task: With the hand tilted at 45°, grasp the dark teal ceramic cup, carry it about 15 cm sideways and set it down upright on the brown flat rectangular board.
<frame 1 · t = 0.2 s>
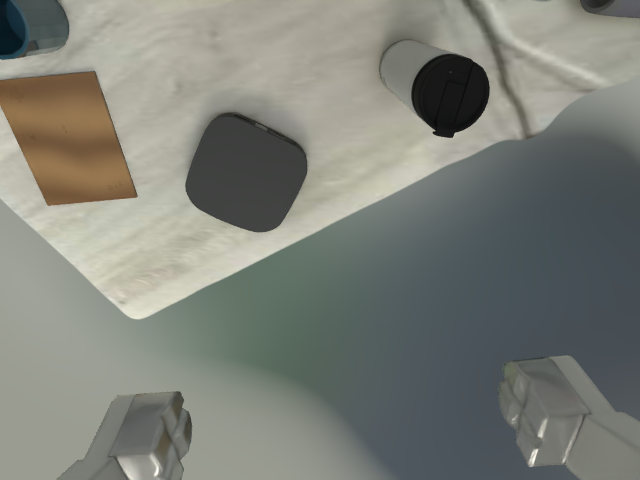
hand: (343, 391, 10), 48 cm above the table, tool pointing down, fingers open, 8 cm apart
brown flat rectangular board: (70, 143, 54), on the table
cup: (37, 19, 47), on the table
media streaming box: (248, 172, 57), on the table
travel mug: (402, 68, 51), on the table
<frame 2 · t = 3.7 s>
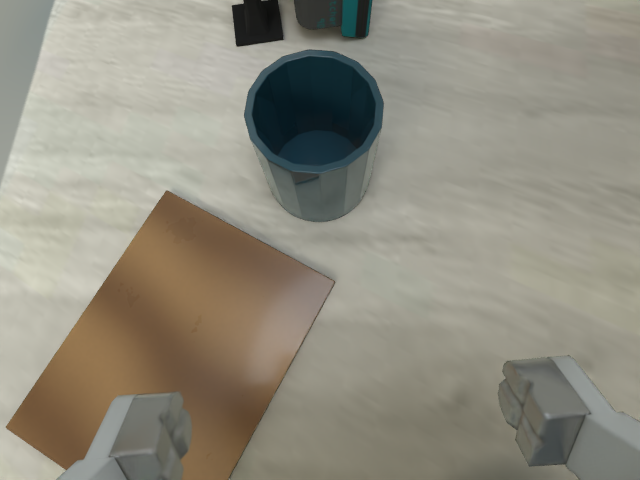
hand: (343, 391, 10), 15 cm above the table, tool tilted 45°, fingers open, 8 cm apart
brown flat rectangular board: (177, 352, 25), on the table
cup: (319, 174, 27), on the table
surveillance camera: (299, 19, 31), on the table
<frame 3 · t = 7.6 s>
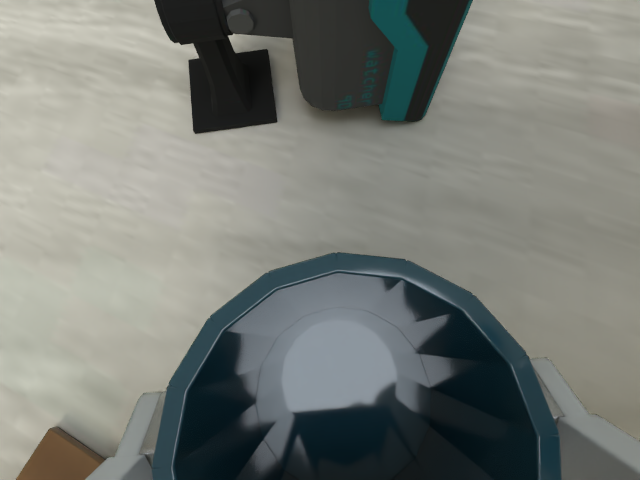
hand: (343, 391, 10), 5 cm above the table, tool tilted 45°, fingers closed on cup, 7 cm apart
cup: (342, 393, 14), on the table, touching gripper
surveillance camera: (305, 84, 18), on the table
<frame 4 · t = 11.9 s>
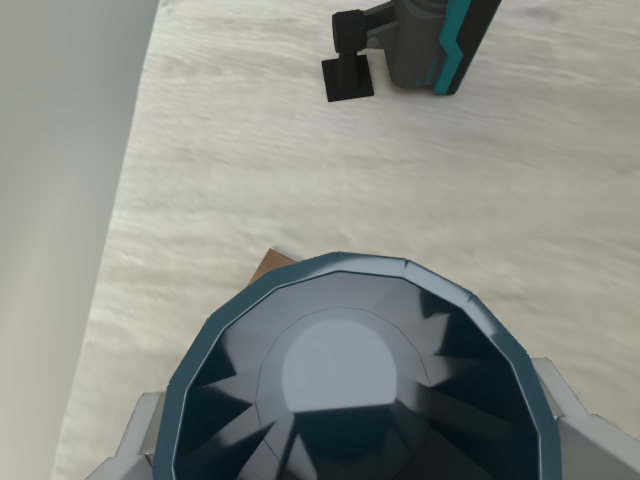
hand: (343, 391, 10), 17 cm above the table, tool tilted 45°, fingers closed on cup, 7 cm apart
brown flat rectangular board: (290, 410, 26), on the table
cup: (342, 393, 14), point 12 cm above the table, touching gripper
surveillance camera: (387, 74, 32), on the table
when the fingers open (5 cm above the table, at t = 16.2 s): cup stays where it is, resting on brown flat rectangular board.
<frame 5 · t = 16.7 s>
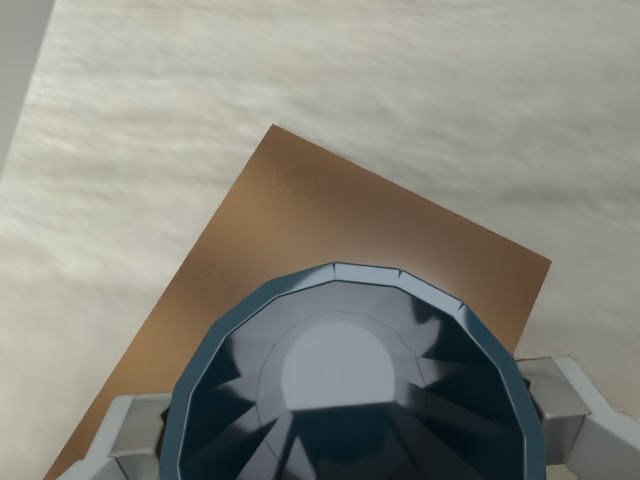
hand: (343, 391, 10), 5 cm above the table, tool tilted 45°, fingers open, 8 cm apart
brown flat rectangular board: (306, 372, 15), on the table
cup: (340, 395, 15), resting on brown flat rectangular board
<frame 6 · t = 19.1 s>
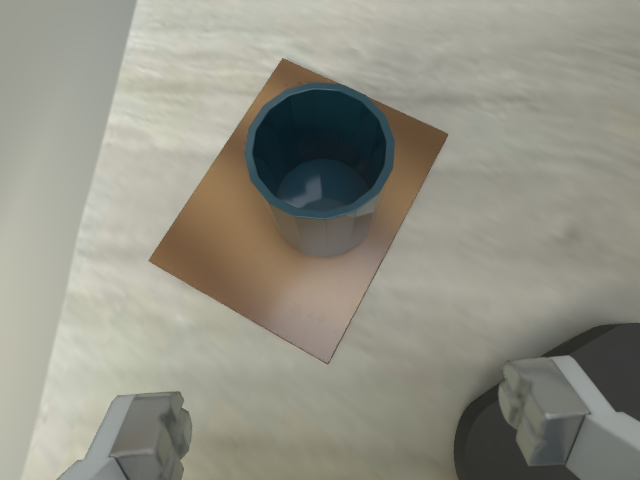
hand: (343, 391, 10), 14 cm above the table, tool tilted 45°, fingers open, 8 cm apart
brown flat rectangular board: (303, 197, 26), on the table
cup: (323, 205, 26), resting on brown flat rectangular board
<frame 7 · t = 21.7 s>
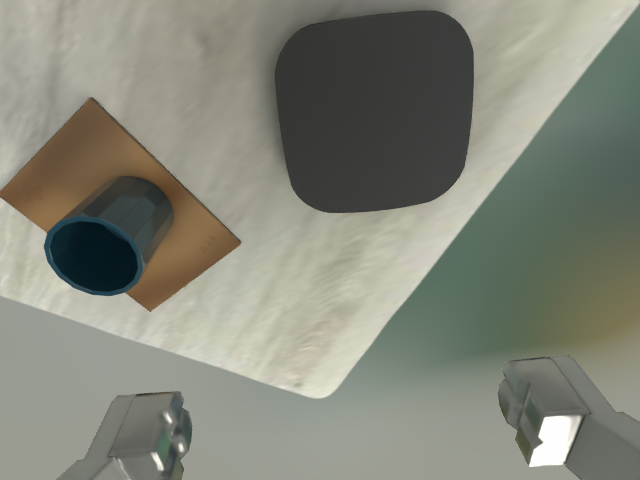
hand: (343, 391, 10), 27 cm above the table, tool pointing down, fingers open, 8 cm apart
brown flat rectangular board: (125, 218, 37), on the table
cup: (135, 211, 36), resting on brown flat rectangular board
media streaming box: (370, 116, 33), on the table
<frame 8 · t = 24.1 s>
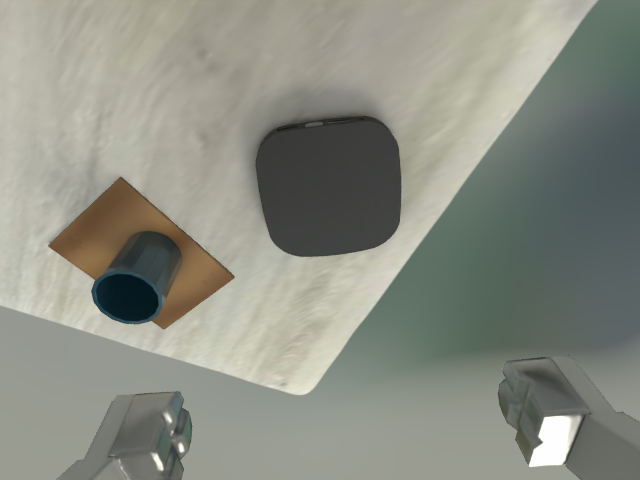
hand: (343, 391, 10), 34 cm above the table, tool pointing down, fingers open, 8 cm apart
brown flat rectangular board: (145, 260, 48), on the table
cup: (152, 255, 47), resting on brown flat rectangular board
media streaming box: (329, 185, 44), on the table
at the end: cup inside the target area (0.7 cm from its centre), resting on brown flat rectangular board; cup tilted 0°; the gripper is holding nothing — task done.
